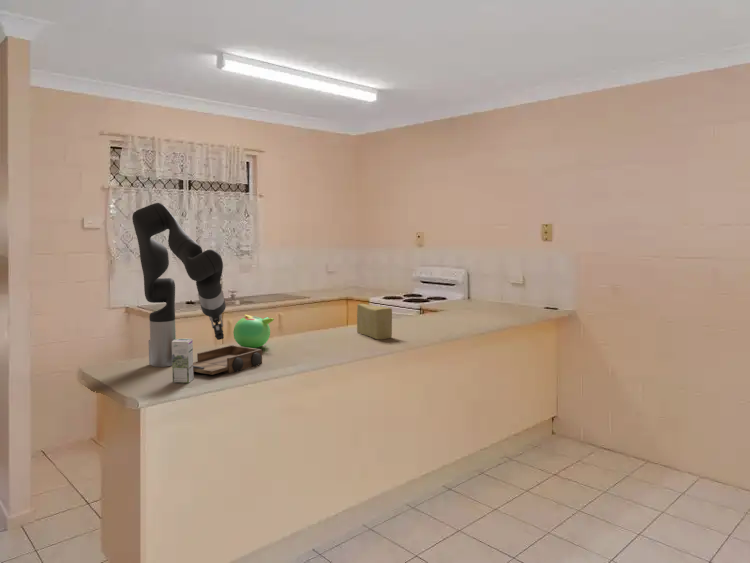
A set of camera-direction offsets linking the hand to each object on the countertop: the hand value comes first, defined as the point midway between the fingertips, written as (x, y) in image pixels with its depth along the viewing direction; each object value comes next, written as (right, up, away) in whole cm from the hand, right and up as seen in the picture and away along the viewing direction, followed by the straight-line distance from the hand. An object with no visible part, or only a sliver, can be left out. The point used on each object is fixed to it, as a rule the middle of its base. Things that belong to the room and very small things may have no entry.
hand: (218, 328), depth 193 cm
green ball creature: (-1, -14, +61) cm, 62 cm away
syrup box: (-13, -19, +5) cm, 24 cm away
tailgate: (-9, -16, +16) cm, 24 cm away
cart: (-3, -17, +27) cm, 32 cm away
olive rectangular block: (+51, -11, +91) cm, 105 cm away
